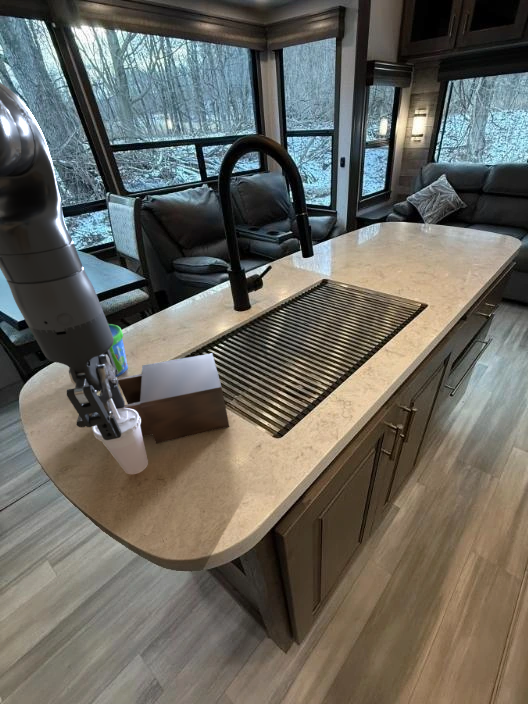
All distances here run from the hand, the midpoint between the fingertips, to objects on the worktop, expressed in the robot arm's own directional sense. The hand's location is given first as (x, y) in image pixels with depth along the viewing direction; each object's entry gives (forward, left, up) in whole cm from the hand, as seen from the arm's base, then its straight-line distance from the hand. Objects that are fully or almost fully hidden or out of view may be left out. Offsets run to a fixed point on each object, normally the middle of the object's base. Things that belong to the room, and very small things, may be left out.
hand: (115, 421), depth 48 cm
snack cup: (-8, +36, -12) cm, 39 cm away
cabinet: (+9, +13, -12) cm, 20 cm away
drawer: (-1, +13, -11) cm, 17 cm away
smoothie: (0, 0, -10) cm, 10 cm away
